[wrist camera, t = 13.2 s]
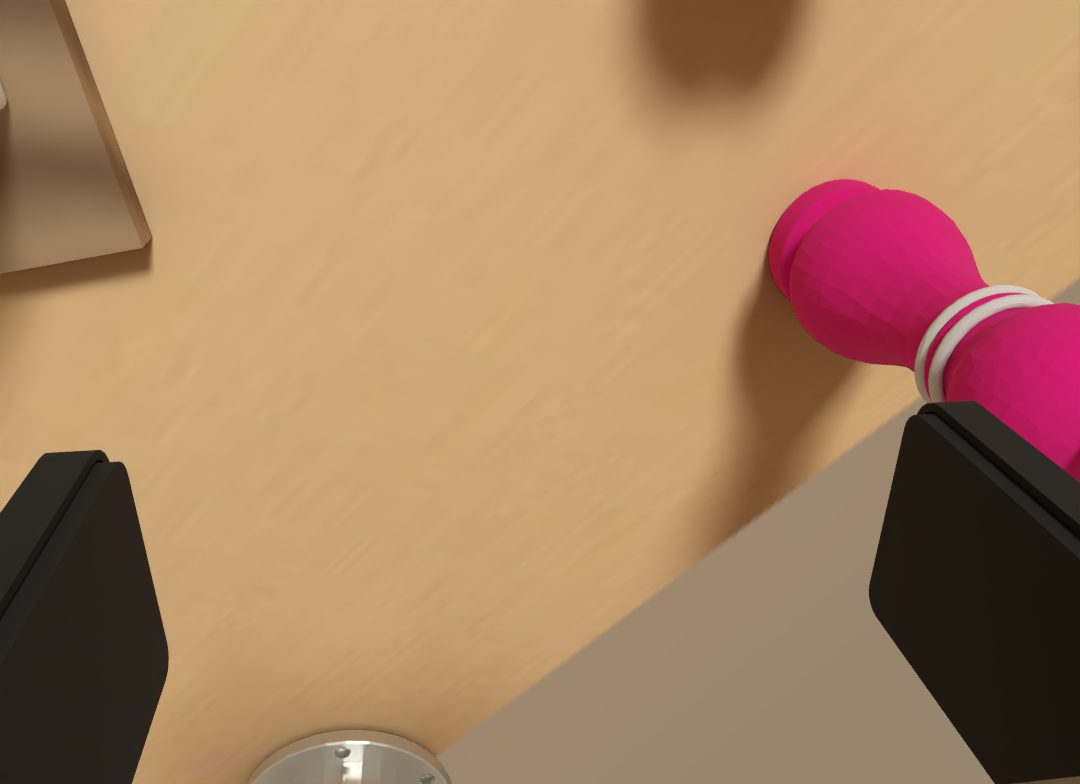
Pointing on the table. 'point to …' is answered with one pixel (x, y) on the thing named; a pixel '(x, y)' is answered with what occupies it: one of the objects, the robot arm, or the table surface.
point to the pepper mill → (929, 310)
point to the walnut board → (57, 148)
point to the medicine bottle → (2, 97)
